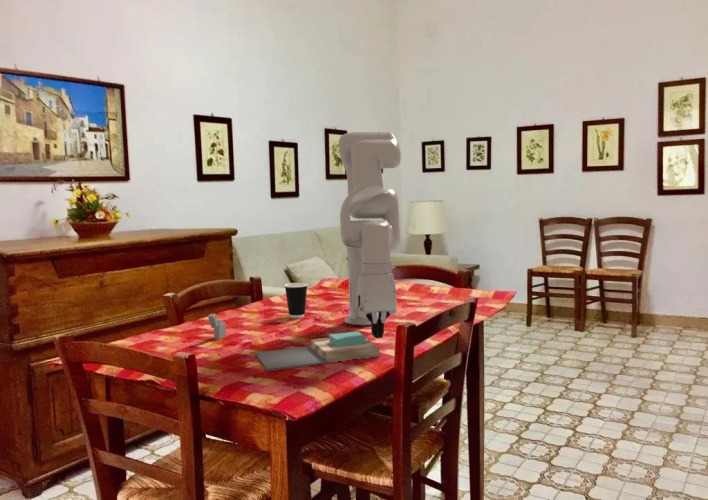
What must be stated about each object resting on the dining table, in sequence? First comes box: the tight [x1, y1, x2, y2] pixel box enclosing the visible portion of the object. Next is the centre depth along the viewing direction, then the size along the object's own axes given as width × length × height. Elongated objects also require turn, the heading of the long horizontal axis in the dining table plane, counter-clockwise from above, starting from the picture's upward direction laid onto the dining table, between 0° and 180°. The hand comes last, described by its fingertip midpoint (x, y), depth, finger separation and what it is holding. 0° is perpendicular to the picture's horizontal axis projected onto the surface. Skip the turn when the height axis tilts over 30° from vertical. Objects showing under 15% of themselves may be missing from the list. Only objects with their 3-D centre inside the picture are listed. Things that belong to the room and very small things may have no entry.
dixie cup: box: [283, 282, 309, 319], centre depth 207 cm, size 8×8×11 cm
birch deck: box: [310, 337, 380, 364], centre depth 161 cm, size 15×14×2 cm
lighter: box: [207, 313, 227, 341], centre depth 179 cm, size 7×2×8 cm, turn 164°
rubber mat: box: [254, 346, 329, 372], centre depth 156 cm, size 16×15×1 cm
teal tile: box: [328, 331, 367, 347], centre depth 161 cm, size 6×8×2 cm
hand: (377, 336), depth 164 cm, fingers closed
